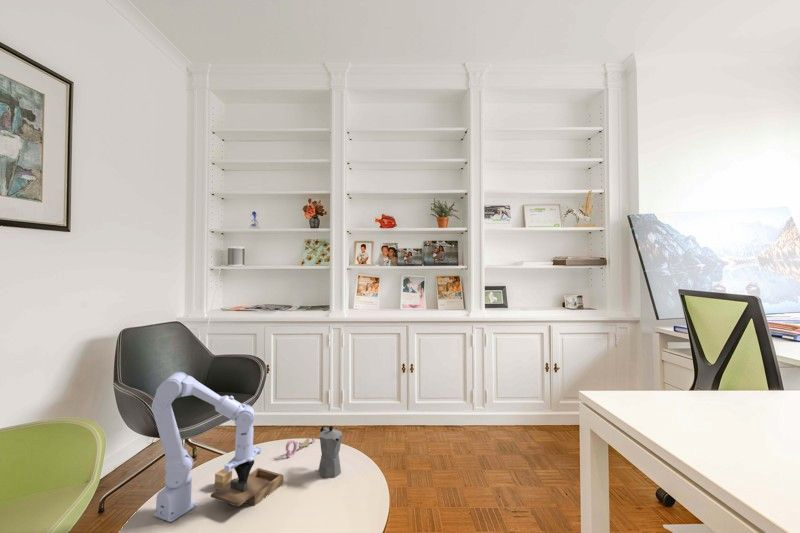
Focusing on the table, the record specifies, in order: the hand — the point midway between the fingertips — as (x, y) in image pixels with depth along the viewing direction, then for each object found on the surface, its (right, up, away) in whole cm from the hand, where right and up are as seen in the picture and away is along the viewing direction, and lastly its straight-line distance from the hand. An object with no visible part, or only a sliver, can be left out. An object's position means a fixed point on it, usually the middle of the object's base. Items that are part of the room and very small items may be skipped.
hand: (243, 483), depth 127 cm
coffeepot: (+26, -7, +20) cm, 33 cm away
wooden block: (-11, -6, +8) cm, 15 cm away
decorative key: (+10, -8, +38) cm, 40 cm away
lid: (0, -2, -1) cm, 2 cm away
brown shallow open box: (+2, -6, +6) cm, 9 cm away
